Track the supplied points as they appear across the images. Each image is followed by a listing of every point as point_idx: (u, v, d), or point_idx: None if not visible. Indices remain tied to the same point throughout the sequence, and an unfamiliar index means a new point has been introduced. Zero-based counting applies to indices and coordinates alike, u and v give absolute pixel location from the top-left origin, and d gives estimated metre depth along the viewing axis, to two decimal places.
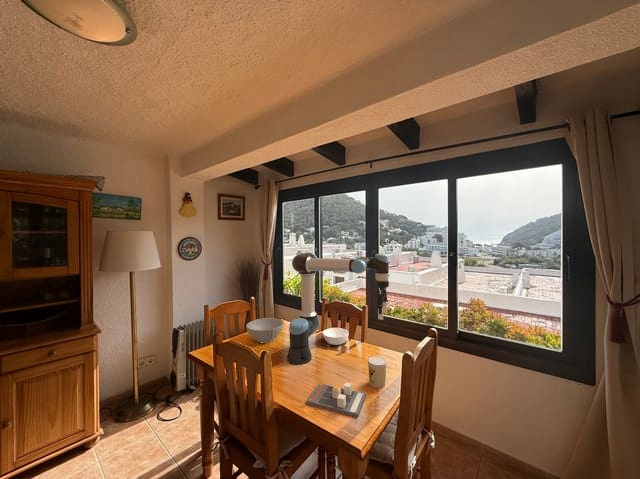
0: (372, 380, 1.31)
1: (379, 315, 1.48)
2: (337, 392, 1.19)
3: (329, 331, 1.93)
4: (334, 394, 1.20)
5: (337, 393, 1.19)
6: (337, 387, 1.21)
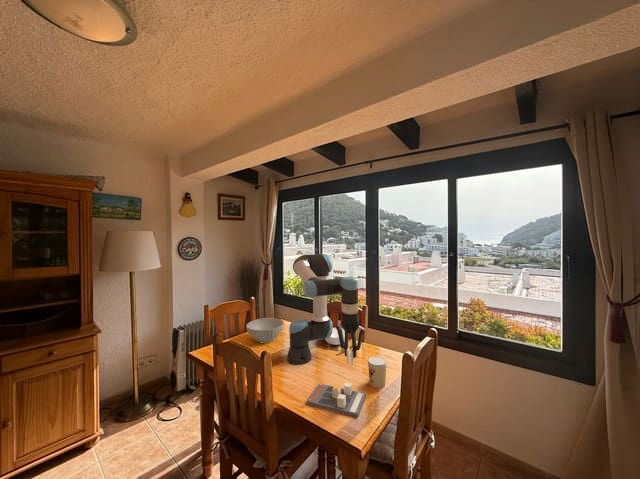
0: (372, 380, 1.31)
1: None
2: (337, 392, 1.19)
3: None
4: (334, 394, 1.20)
5: (337, 393, 1.19)
6: (337, 387, 1.21)
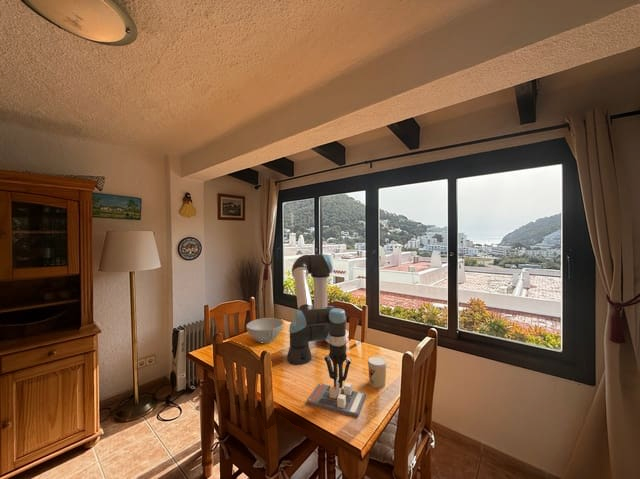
0: (372, 380, 1.31)
1: None
2: (334, 391, 1.20)
3: None
4: (331, 393, 1.20)
5: (334, 392, 1.20)
6: None
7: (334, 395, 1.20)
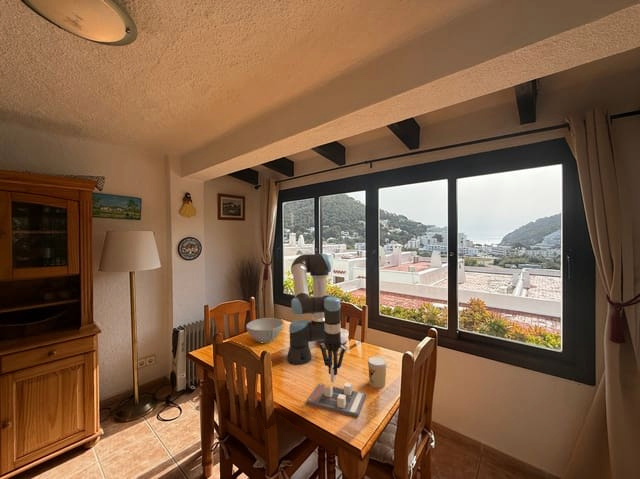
0: (372, 380, 1.31)
1: None
2: (329, 390, 1.21)
3: None
4: (326, 392, 1.21)
5: (329, 391, 1.21)
6: (329, 385, 1.22)
7: (329, 394, 1.21)
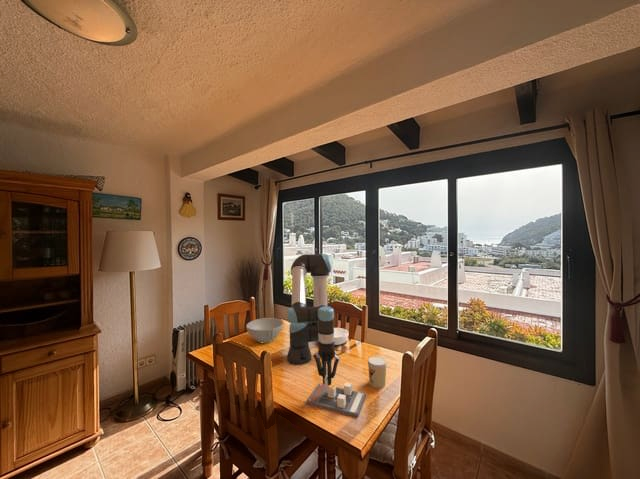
0: (372, 380, 1.31)
1: None
2: (332, 391, 1.20)
3: None
4: (329, 393, 1.21)
5: (332, 392, 1.20)
6: (332, 386, 1.22)
7: (332, 395, 1.20)
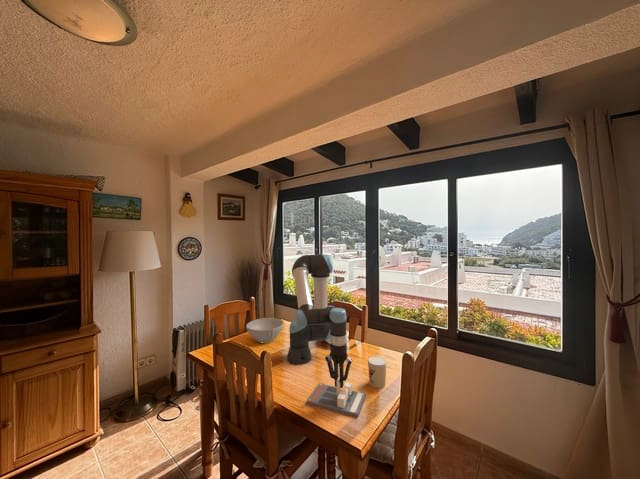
0: (372, 380, 1.31)
1: None
2: (344, 394, 1.18)
3: None
4: None
5: None
6: (344, 389, 1.20)
7: None
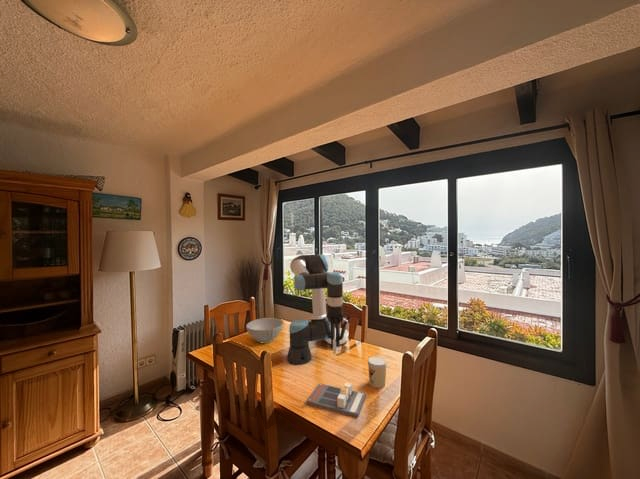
0: (372, 380, 1.31)
1: None
2: (345, 394, 1.18)
3: None
4: None
5: None
6: (345, 389, 1.19)
7: None
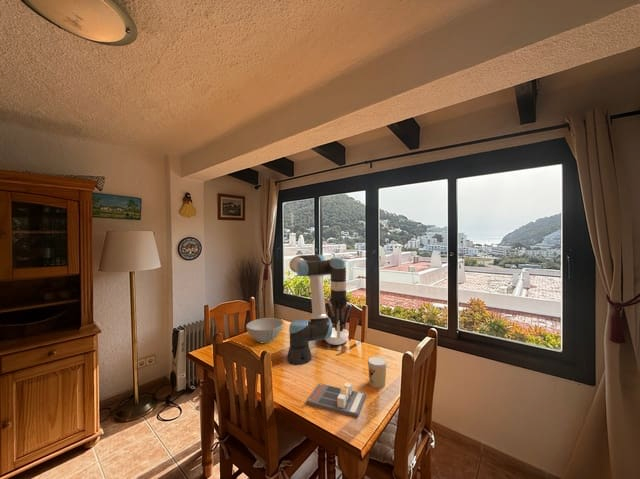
0: (372, 380, 1.31)
1: None
2: (345, 394, 1.18)
3: None
4: None
5: None
6: (345, 389, 1.19)
7: None
